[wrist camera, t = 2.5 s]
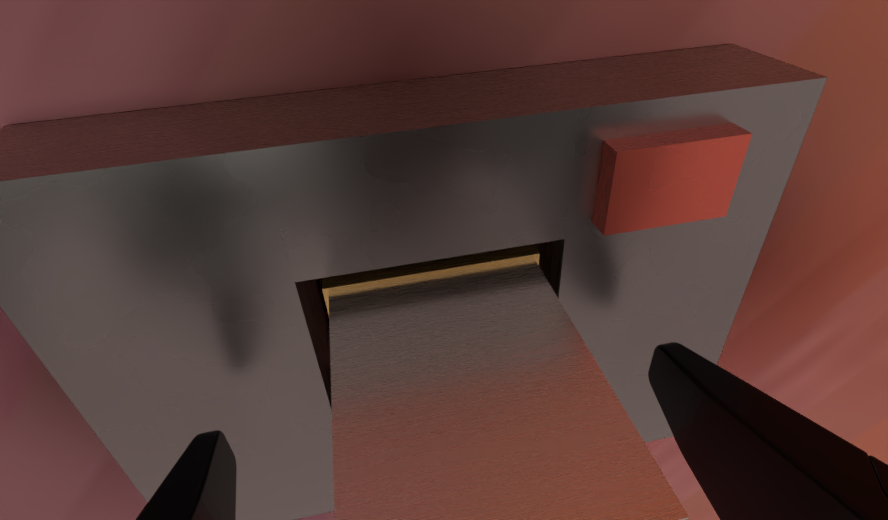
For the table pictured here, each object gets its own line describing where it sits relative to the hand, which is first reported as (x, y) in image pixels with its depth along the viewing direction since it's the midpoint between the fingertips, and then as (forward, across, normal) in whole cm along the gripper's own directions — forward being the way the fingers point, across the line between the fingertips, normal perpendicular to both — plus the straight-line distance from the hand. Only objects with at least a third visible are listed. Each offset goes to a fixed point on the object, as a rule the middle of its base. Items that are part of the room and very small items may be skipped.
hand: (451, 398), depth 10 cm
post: (+4, 0, 0) cm, 4 cm away
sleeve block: (+4, 0, 0) cm, 4 cm away
